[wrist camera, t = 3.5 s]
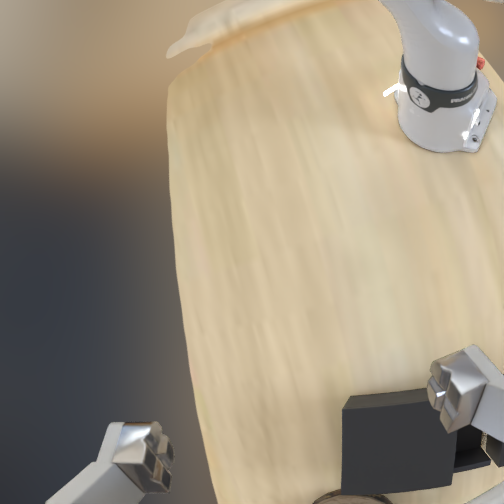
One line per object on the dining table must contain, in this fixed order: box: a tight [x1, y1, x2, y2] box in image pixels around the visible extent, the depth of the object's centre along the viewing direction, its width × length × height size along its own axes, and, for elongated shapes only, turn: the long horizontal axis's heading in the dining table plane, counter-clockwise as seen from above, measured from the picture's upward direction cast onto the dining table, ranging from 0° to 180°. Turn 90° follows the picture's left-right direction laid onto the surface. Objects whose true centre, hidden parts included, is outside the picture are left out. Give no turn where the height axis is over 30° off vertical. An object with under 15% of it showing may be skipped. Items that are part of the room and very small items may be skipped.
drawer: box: [453, 424, 504, 473], centre depth 30 cm, size 18×11×7 cm, turn 92°
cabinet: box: [341, 388, 457, 495], centre depth 34 cm, size 15×13×9 cm
